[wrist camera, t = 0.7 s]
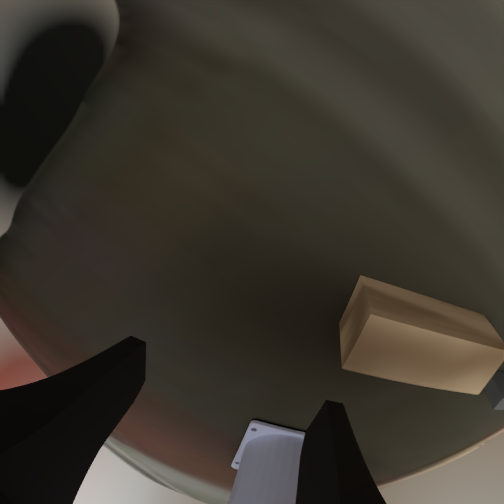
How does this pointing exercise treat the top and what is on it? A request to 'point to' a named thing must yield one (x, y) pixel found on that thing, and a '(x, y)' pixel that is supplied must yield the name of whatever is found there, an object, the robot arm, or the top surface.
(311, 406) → the top surface
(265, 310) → the top surface
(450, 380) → the brown wooden block
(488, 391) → the end cap
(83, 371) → the robot arm
